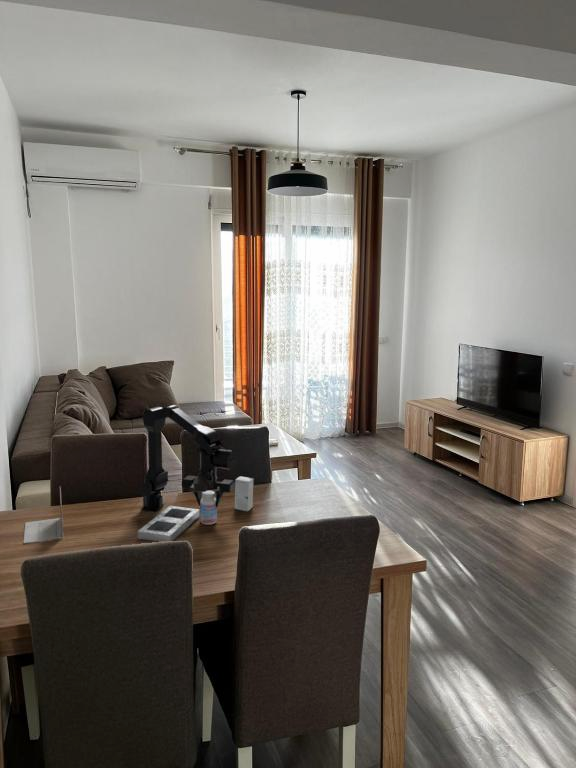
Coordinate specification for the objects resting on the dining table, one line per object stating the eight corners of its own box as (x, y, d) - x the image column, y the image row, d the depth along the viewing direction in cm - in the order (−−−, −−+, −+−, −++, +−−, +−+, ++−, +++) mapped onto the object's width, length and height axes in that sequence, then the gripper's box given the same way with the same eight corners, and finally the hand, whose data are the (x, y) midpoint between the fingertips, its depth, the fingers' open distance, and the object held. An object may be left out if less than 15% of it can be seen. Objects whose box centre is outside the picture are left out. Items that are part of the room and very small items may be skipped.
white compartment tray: (137, 539, 198) (137, 531, 197) (170, 513, 221) (169, 505, 220) (170, 544, 195) (169, 535, 194) (199, 517, 217) (199, 509, 217)
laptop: (25, 524, 209) (23, 489, 207) (62, 519, 214) (60, 485, 212) (23, 545, 193) (20, 508, 191) (63, 539, 198) (61, 503, 195)
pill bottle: (203, 526, 209) (203, 496, 207) (198, 520, 215) (197, 491, 213) (219, 523, 212) (219, 494, 210) (213, 517, 217) (213, 488, 215)
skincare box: (234, 509, 226) (234, 479, 223) (239, 505, 230) (239, 475, 228) (248, 511, 223) (248, 481, 221) (253, 507, 227) (253, 478, 225)
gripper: (174, 469, 204) (175, 511, 207) (224, 474, 200) (224, 517, 202) (188, 460, 215) (188, 500, 218) (235, 465, 210) (235, 506, 213)
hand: (208, 506), depth 212 cm, fingers open, 6 cm apart
